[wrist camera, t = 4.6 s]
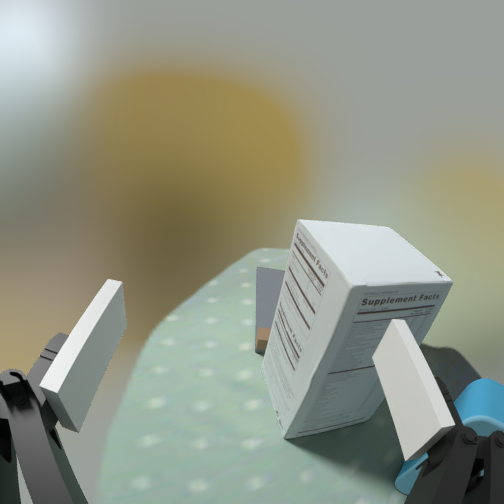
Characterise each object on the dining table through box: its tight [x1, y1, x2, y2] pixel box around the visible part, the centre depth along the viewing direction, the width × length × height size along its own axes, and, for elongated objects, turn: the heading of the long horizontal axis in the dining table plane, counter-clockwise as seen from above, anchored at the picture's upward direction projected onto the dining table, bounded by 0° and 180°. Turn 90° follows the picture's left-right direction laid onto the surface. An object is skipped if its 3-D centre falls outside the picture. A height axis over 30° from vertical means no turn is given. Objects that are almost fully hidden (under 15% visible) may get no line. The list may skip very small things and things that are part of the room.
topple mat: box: [255, 267, 285, 353], centre depth 41 cm, size 18×16×2 cm
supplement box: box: [261, 220, 453, 439], centre depth 24 cm, size 10×9×17 cm
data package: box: [395, 379, 504, 495], centre depth 14 cm, size 12×4×12 cm, turn 51°
